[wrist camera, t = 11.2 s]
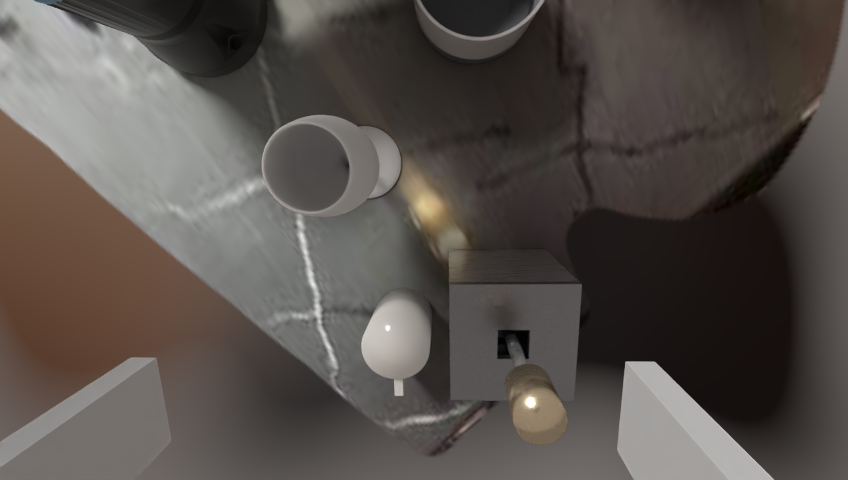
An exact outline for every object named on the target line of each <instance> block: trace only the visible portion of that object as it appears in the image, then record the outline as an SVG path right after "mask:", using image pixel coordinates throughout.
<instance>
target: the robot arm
mask: <svg viewBox="0 0 848 480" xmlns="http://www.w3.org/2000/svg"><path fill="white" fill-rule="evenodd" d="M35 1H36V2H40V3H44V4H47V5H49V6H52V7H55V8H58V9H61V10H63V11H66V12H69V13H72V14H75V15H77V16H80V17H83V18H86V19H89V20H91V21H94V22H97V23H100V24H103V25H105V26H108V27H111V28H114V29H117V30H119V31H122V32H125V33H128V34H130V35H133V36H134V37H135V38H136V39H138V40H139V41H140V42H141V43H142V44H143V45H145V47H147V48H148V49H149V50H150V52H152V53H153V54H154V55H155V56H156V57H157V58H158V59H160V60H161V61H163V62H164V63H166V64H168V65H170V66H172V67H174V68H176V69H178V70H181V71H184V72H187V73H190V74H194V75H198V76H204V77H215V76H221V75H225V74H228V73H231V72H233V71H235V70H237V69H238V68H240V67H241V66H243V65H244V64H245V63H246V62H247V61H248V60H249V59H250V58H251V57H252V56H253V54H254V53H255V52H256V50H257V48H258V46H259V45H260V42H261V40H262V37H263V35H264V31H265V27H266V20H267V4H266V0H35ZM170 442H171V436H170V430H169V425H168V419H167V414H166V408H165V403H164V397H163V392H162V386H161V382H160V376H159V370H158V364H157V359H156V358H130V359H128V360H126V361H125V362H123V363H122V364H120V365H119V366H117V367H116V368H114V369H112V370H111V371H109V372H108V373H106V374H105V375H103V376H102V377H100V378H99V379H97V380H95V381H94V382H92V383H91V384H89V385H88V386H86V387H85V388H83V389H81V390H80V391H79V392H77V393H75V394H74V395H72V396H71V397H69V398H68V399H66V400H64V401H63V402H62V403H60V404H58V405H57V406H55V407H54V408H52V409H50V410H49V411H47V412H46V413H44V414H43V415H41V416H40V417H38V418H36V419H35V420H33V421H32V422H30V423H29V424H27V425H26V426H24V427H23V428H21V429H19V430H18V431H16V432H15V433H13V434H12V435H10V436H8V437H7V438H5V439H4V440H2V441H1V442H0V480H135V479H136V478H137V476H138V475H139V474H140V473H141V472H142V471H143V470H144V469H145V468H146V467H147V466H148V465H149V464H150V463H151V462H152V461H153V460H154V459H155V458H156V457H157V456H158V455H159V454H160V453H161V451H162V450H163V449H164V448H165V447H166V446H167V445H168V444H169V443H170ZM617 451H618V452H619V455H620V456H621V458H622V460H623V462H624V463H625V465H626V467H627V468H628V470H629V472H630V474H631V475H632V477H633V479H634V480H774V479H773V478H772V477H771V476H770V475H769V474H768V473H767V472H766V471H765V470H764V469H763V468H762V467H761V466H760V465H759V464H758V463H757V462H756V461H755V460H754V459H752V457H751V456H750V455H748V453H747V452H746V451H745V450H743V448H741V447H740V446H739V445H738V444H737V443H736V442H735V441H734V440H733V439H732V438H731V437H730V436H729V435H728V434H727V433H726V432H725V431H724V430H723V429H722V428H721V427H720V426H719V425H718V424H717V423H716V422H715V421H714V420H713V419H712V418H711V417H710V416H709V415H708V414H707V413H706V412H705V411H704V410H703V409H702V408H701V407H700V406H699V405H698V404H697V403H696V402H695V401H694V400H693V399H692V398H691V397H690V396H689V395H688V394H687V393H686V392H685V391H684V390H683V389H682V388H681V387H680V386H679V385H678V384H677V383H676V382H675V381H674V380H673V379H672V378H671V377H670V376H669V375H668V374H667V373H666V372H665V371H664V370H663V369H662V368H661V367H660V366H659V365H658V364H657V363H656V362H626V363H625V373H624V383H623V393H622V404H621V414H620V425H619V435H618V446H617Z"/></svg>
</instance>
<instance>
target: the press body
mask: <svg viewBox="0 0 848 480" xmlns="http://www.w3.org/2000/svg"><path fill="white" fill-rule="evenodd" d="M581 291H582V284H581V283H580V282H579V281H578V280H577V279H576V278H575V277H574V276H573V275H572V274H571V273H570V272H569V271H568V270H566V269H565V268H564V267H563V266H562V265H561V264H560V263H559V262H558V261H557V260H556V259H555V258H554V257H553V256H552V255H551V254H550V253H549V252H548V251H546V250H545V249H449V345H450V397H451V400H484V401H508V399H507V395H506V391H505V386H504V383H505V379H506V376H507V374H508V373H509V372H510V371H511V370H512V369H513V368H514V366H513V363H512V360H511V356H510V353H509V350H508V347H507V344H506V341H505V338H504V337H498V330H528V337H517V338H518V340H519V343H520V345H521V348H522V350H523V353H524V356H525V358H526V361H527V363H528V364H535V365H538V366H540V367H541V368H543V369H544V370H545V371H546V372H547V373H548V375H549V377H550V379H551V381H552V383H553V385H554V387H555V390H556V392H557V394H558V396H559V398H560V400H561V402H574V395H575V381H576V366H577V351H578V335H579V321H580V306H581Z"/></svg>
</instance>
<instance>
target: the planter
mask: <svg viewBox="0 0 848 480" xmlns="http://www.w3.org/2000/svg"><path fill="white" fill-rule="evenodd" d="M413 1H414V6H415V11H416V15H417V20H418V23H419V26H420V28H421V31H422V33H423V34H424V36H425V38H426V39H427V41H428V42H429V43H430V45H431V46H432V47H433V48H434V49H435V50H436V51H438V52H439V53H440V54H442V55H443V56H445V57H446V58H448V59H451V60H453V61H456V62H459V63H465V64H480V63H485V62H489V61H491V60H494V59H496V58H498V57H500V56H502V55H503V54H505V53H506V52H508V51H509V50H510V49H511V48H512V47H513V46H514V45H515V44H516V43H517V42H518V41H519V40H520V38H521V37H522V35H523V34H524V32H525V31H526V29H527V28H528V26H529V25H530V23H531V21H532V20H533V18H534V17H535V15H536V14H537V12H538V11H539V9H540V7H541V6H542V4H543V3H544V1H545V0H413Z"/></svg>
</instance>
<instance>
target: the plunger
mask: <svg viewBox="0 0 848 480" xmlns="http://www.w3.org/2000/svg"><path fill="white" fill-rule="evenodd" d="M498 337H504V338H505V341H506V344H507V347H508V350H509V353H510V356H511V360H512V363H513V366H514V368H513V369H512V370H511V371H510V372H509V373H508V374H507V376H506V379H505V383H504V386H505V391H506V395H507V399H508V403H509V407H510V411H511V415H512V419H513V423H514V427H515V430H516V432H517V434H518V435H519V436H520V437H521V438H522V439H523V440H525V441H526V442H528V443H531V444H535V445H545V444H550V443H553V442H555V441H556V440H558V439H559V438H560V437H562V435H563V434H564V433H565V431H566V429H567V426H568V416H567V413H566V411H565V409H564V407H563V405H562V402H561V400H560V398H559V396H558V394H557V392H556V390H555V387H554V385H553V383H552V381H551V379H550V377H549V375H548V373H547V372H546V371H545V370H544V369H543V368H541V367H540V366H538V365H535V364H528V363H527V361H526V358H525V356H524V353H523V350H522V348H521V345H520V343H519V340H518V338H517V337H528V330H498Z"/></svg>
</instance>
